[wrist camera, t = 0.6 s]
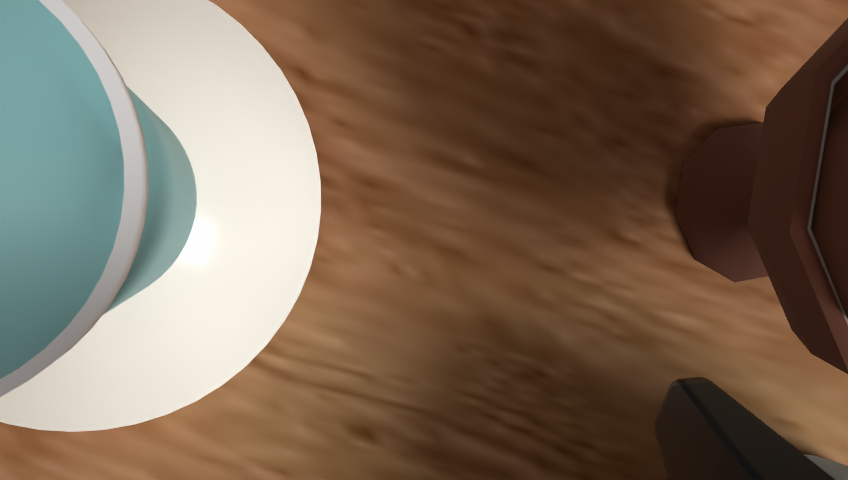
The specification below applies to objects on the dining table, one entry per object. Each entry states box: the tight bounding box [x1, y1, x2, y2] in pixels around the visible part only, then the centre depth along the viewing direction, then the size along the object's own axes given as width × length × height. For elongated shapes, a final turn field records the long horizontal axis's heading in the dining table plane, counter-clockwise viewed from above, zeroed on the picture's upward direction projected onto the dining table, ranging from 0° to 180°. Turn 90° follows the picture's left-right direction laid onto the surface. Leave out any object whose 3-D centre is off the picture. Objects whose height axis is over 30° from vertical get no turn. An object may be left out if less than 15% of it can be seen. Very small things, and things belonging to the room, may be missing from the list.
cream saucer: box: [0, 0, 321, 432], centre depth 22 cm, size 13×13×1 cm
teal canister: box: [0, 0, 197, 397], centre depth 15 cm, size 6×6×12 cm
